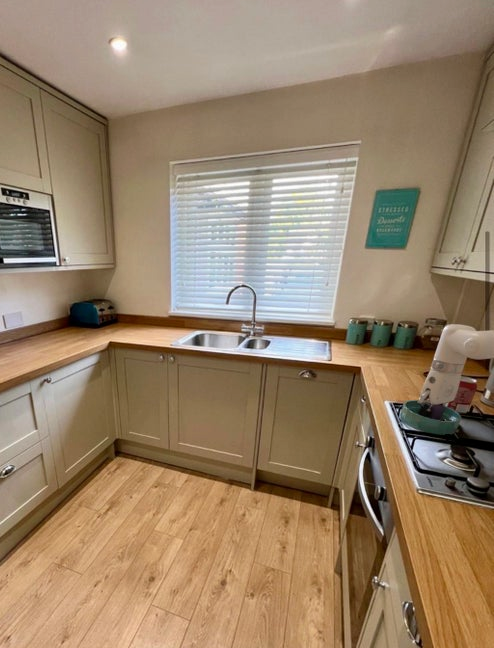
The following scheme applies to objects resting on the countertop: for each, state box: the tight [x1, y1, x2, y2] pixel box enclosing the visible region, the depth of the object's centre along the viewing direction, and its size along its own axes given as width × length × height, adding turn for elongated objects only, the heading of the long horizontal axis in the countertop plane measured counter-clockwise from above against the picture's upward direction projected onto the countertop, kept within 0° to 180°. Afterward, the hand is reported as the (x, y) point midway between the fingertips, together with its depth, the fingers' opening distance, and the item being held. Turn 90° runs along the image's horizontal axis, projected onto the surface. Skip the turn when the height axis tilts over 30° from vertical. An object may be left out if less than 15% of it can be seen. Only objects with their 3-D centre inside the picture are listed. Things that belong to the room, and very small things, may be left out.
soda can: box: [446, 375, 478, 415], centre depth 114 cm, size 7×7×12 cm
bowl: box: [399, 399, 462, 436], centre depth 106 cm, size 15×15×5 cm
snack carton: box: [418, 402, 445, 420], centre depth 105 cm, size 4×4×6 cm
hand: (428, 419), depth 106 cm, fingers open, 4 cm apart
